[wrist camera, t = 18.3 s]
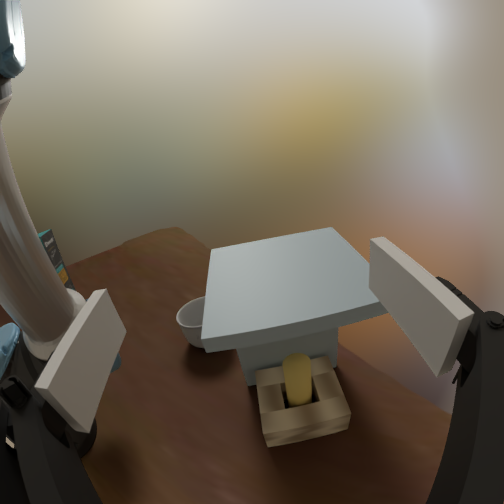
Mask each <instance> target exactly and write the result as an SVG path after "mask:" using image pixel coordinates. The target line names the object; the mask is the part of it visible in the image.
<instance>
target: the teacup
mask: <svg viewBox="0 0 504 504" xmlns="http://www.w3.org/2000/svg"><path fill="white" fill-rule="evenodd" d="M205 297H206V296H205ZM205 297H201V298H197V299H195V300H192V301H190V302H188V303H187V304H185V305H184V306H183V307H182V308H181V309H180V310H179V311H178V313H177V316H176V319H177V322H178V324H179V325H180V327H181V329H182V331H183V333H184V335H185V337H186V339H187V340H188V341H189V343H191V344H192V345H194V346H196V347H199V348H204V346H203V343H202V341H201V334H202V324H203V315H204V306H205Z"/></svg>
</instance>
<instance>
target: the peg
mask: <svg viewBox="0 0 504 504" xmlns="http://www.w3.org/2000/svg"><path fill="white" fill-rule="evenodd" d="M282 365H283V372H284V378H285V385H286V392H287V399H288V405H289V408H293V407H298V406H302V405H307V404H311V403H312V385H311V360H310V358H309V357H308V356H307V355H305V354H303V353H293V354H290V355H288V356H287V357H286V358H285V359H284V360H283V363H282Z"/></svg>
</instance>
